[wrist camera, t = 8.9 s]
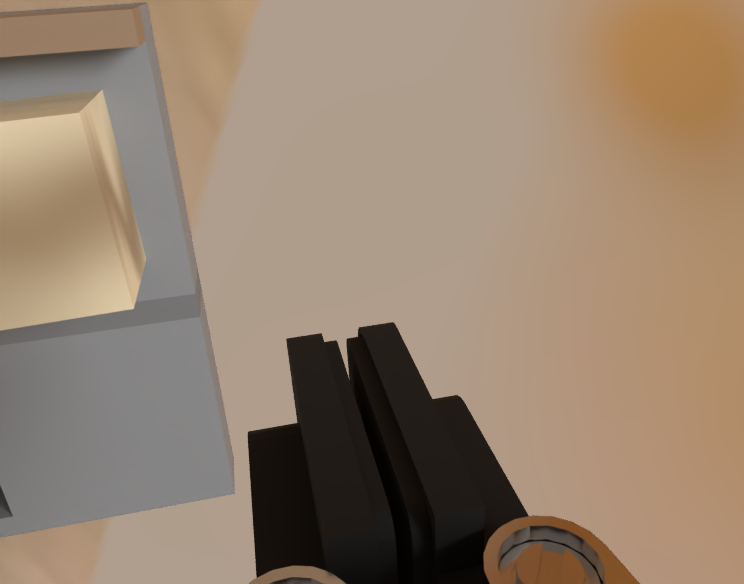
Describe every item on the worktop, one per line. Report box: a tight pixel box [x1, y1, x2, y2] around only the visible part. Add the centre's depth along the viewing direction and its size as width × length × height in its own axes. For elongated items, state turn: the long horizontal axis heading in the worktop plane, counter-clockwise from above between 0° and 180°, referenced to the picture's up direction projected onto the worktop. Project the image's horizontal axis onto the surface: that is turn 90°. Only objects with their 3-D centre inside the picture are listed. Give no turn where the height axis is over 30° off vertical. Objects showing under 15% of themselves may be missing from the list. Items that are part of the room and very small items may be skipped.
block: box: [0, 90, 146, 331], centre depth 20 cm, size 6×6×4 cm
